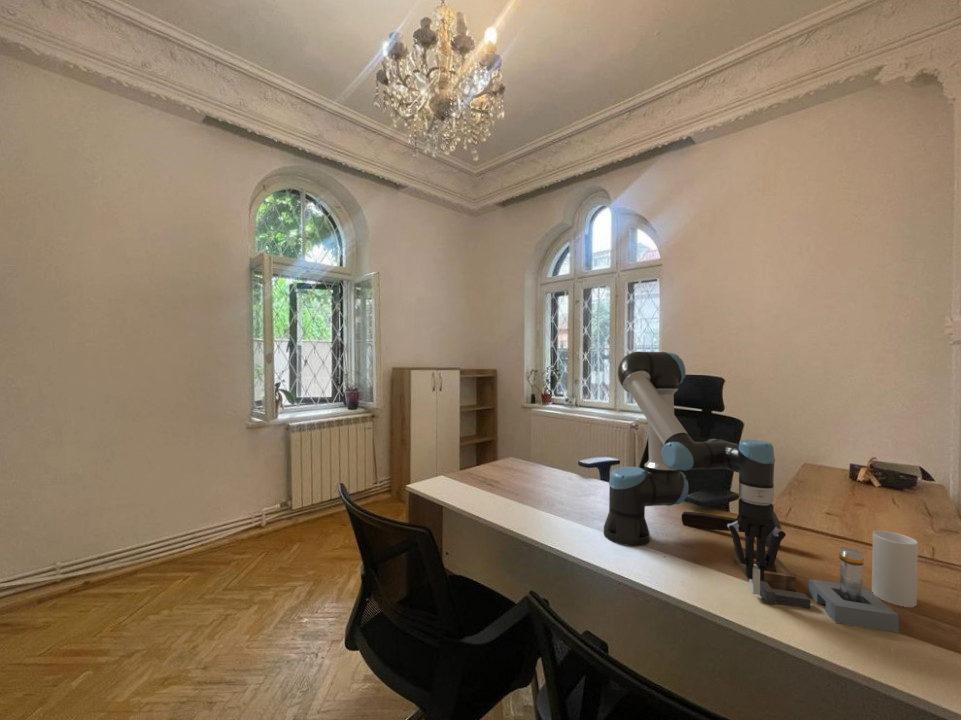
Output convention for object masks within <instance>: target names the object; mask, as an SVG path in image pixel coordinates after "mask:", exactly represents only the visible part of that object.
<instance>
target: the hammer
mask: <svg viewBox="0 0 961 720" xmlns="http://www.w3.org/2000/svg"><path fill="white" fill-rule="evenodd" d="M736 519H737V517H736V518H734V517H729V516H723V515H718V514H717V515H716V514H711V513H706V512H705V513H704V512H695V511H685V510H684V511H683V513H682V514H681V523H682V525H683V526H685V527H689V528H694V529H700V530H711V531H713V530H714V531H722V532H723V531H725V532H731V531H730V530H729V528H728V527H727V523H733V522H735V521H736ZM773 521H774V523H775V527H777V528H779V529H781V530H782V527H781V526H782V525H781V524H780V523H781V522H780V520H779V517H778V516H777V514H776V512H775V511H774V513H773ZM738 528H739V531H738V533H744V531H743V530H742V529H741V527H740V526H739V527H738ZM771 536H772V532H771V533H770V534H769V535H768V536H767V537H766V544H765V547H768V546H769V543H770V540H771Z"/></svg>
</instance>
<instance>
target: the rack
mask: <svg viewBox="0 0 961 720" xmlns="http://www.w3.org/2000/svg"><path fill="white" fill-rule="evenodd" d="M733 549H734V550H733V551H734V552H733V561H734V562H735V563H736V565H737V566H738V567H739V569H740V571H741V572H742V574H743V575H744V576H745V578H746V579H747V580H748V581H750V579H748V578H747V576H746V574H745V573H746V565H745V564H742V563H741V562H740V561H739V560H738V558H737V554H736V550H735V546H734V547H733ZM742 549H743V553H744V557H745V547H742ZM766 553H767V550H765V556H766ZM754 564H756V565H757V563H756V549H754ZM763 582H767V583H768V584H769V586H770V587H771V588H772V589H779V590H785V591H792V592H797V591H796V586H797V577H796V576H795V574H793V573H792V571H790V569H789V568H788V567H787V566H786V565H785V564H784V563H783V562H782V561H781V560H780V559H779V557H777V556H776V559H775V563H774V566H773V567H772V568H770V567H767V568H766V570H765V571H764V581H763Z"/></svg>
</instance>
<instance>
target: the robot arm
mask: <svg viewBox="0 0 961 720" xmlns="http://www.w3.org/2000/svg"><path fill="white" fill-rule="evenodd" d="M617 368H618V369H617V378H618V380H619V381H618V382H619V383H620V386H621V387H622V388H623V390H624V391H625V392H627V393H629V394H630V395H631V397H632V398H633V399H634V401H635V403H636V404H637V406H638V408H639V409H640V411H641V412H642V413H643V416H644V418H646V420H647V429H648V430H647V431H648V433H647V434H648V436H647V437H648V439H647V441H648V460H647V462H645V463H644V468H642V467H638V466H629V465H628V466H627V465H626V466H620V467H616V468H614V469H613V470H612V471H611V472H610V475H609V482H608V486H609V493H608V494H609V500H608V501H609V502H608V505H609V509H608V514H607V516H606V520H605V523H604V524H603V537H604V536H605V538H606V539H607V540H609V541H612V542H613V543H616V544H619V545H622V546H628V547H630V546H631V547H641V546H643V547H644V546H646V545H647V544H649V543H650V542H651V541H650V540H651V537H650V536H651V534H650V530H649V527H648V524H647V519H646V515H645V514H646V512H645V511H646V507H656V506H657V507H658V506H674V505H679V504H681V503H683V502H684V501H685V500H686V498H687V497H688V495H689V482H688V479H686V478H687V477H686V475H685V473H683V472H682V471H690V470H718V469H723V470H724V469H725V470H729V471H732V472H735V473H738V497H739V499H738V508H737V509H738V515H737V517H736V521H735V522H733V523H727V527H728V528H729V530H730V531H729V532H730V533H731V537H732V542H733V545H734V547H735V550H736V554H737V558H738V560H739V561H740V562H741V563H742V564H745V565H746V573H745V574H746V576H747V577H746V576H745V577H746V579H747V578H748V579H750V581H749V580H748V579H747V580H748V581H749V586H748V587H749V590H750V592H751V593H752V594H753V595H757V596H758V595H759V596H760V581H764V571H765V570H766V568H767V567H770V568H772V567H773V566H774V563H775V559H776V557H777V556H778V553H779V549H780V546H781V543H782V541H783V540H784V538H785V537H786V533H785V532H784V530H782V528H781V529H779V528H777V527H775V523H774V521H773V513H774V512H775V511H774V509H775V507H774V505H773V503H774V500H775V499H774V495H775V494H774V490H775V489H774V479H775V478H774V477H775V476H774V475H775V462H776V458H775V450H774V446H773V444H772V443H770V442H768V441H764V440H758V439H747V438H746V439H741V440H740V441H739V444H738V443H734V442H729V441H727V440H725V439H716V438H709V439H707V440H706V441H694V440H693V439H692V437H691V436H690V435H689V433H688V432H687V430H685V428H684V426H683V425H682V423H681V422H680V421H679V419H678V418H677V416H676V414H675V405H674V404H675V403H674V402H675V400H674V399H675V398H674V395H675V393H676V392H677V391H678V390H679V385H680V384H682V383H683V382H684V379H685V378H686V367H685V364H684V361H683V359H682V358H680V356H679V355H677V354H676V353H673V352H666V351H633V352H630V353H628V354H627V355H625V356H624V357H623V358H622V359H621V361H620V362H619V364H618V367H617ZM739 526H740V527H741V529H742V530H743V531H744V532H743V533H744V537H745V539H744V540H745V541H744V545H745V546H744V548H745V557H744V553H743V549H742V548H743V547H742V546H743V545H742V542H741V538H740V535H739V532H738V531H739V528H738V527H739ZM771 532H772V536H771V540H770V543H769V546H767V548H766V545H765V544H766V537H767V536H768V535H769V534H770V533H771ZM755 542H756V549H755ZM766 549H767V550H766ZM754 550H756V563H757V565H756V564H754ZM765 551H767V553H766V556H765ZM745 574H744V575H745Z"/></svg>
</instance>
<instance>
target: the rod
mask: <svg viewBox="0 0 961 720" xmlns="http://www.w3.org/2000/svg"><path fill="white" fill-rule="evenodd" d="M839 550H840V551H839V553H838V559H839V561H840V563H839V583H840V597H841V598H842V599H843V600H845V601H852V602H859V603H862V587H863V566H864V561H865V560H864V558H863V553H862V552H861V551H860V550H857V549H855V548H850V547H846V546H845V547H840V549H839Z"/></svg>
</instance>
